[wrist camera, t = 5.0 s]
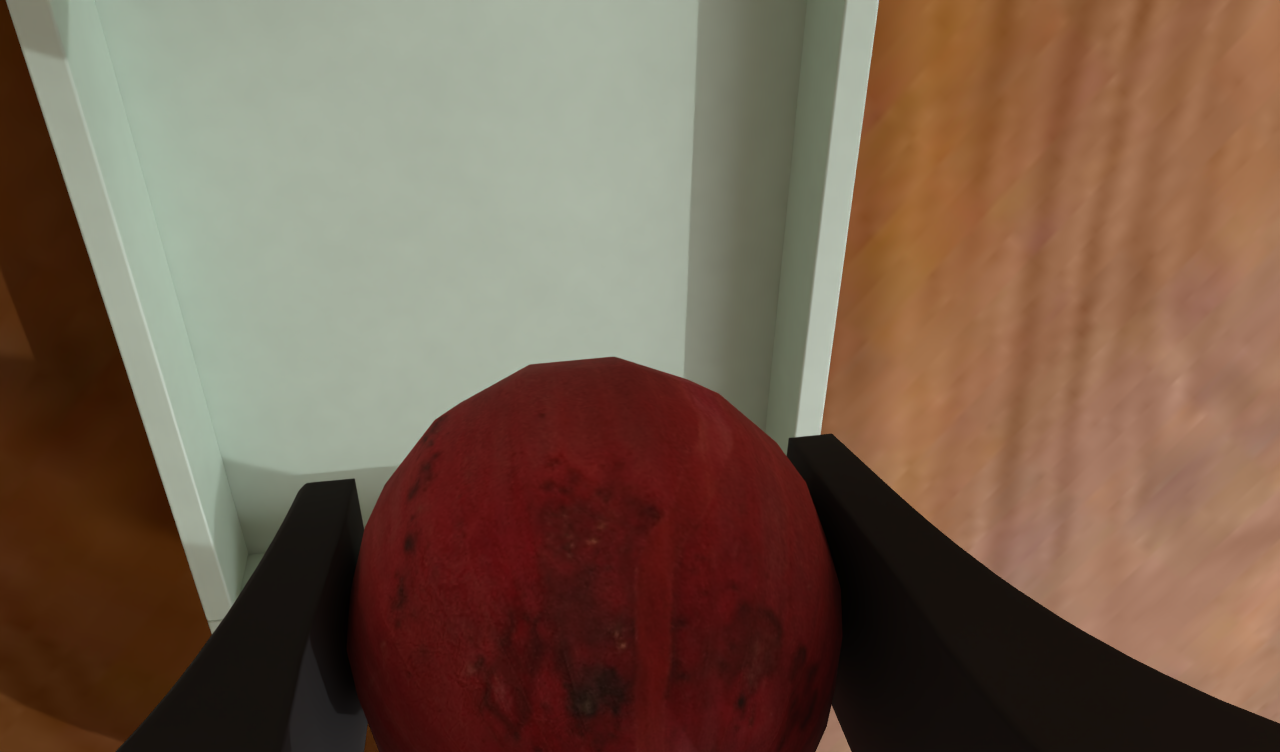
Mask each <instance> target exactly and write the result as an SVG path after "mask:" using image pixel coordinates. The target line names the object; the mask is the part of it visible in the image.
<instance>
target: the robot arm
mask: <svg viewBox="0 0 1280 752" xmlns="http://www.w3.org/2000/svg"><path fill="white" fill-rule="evenodd" d="M787 457H788V459H789V460H790V461H791V463H792V464H793V466H794V467H795V468H796V470H797V471H798V472H799V474H800V475H801V476H802V478H803V479H804V481H805V482H806V484H807V487H808V490H809V492H810V495H811V498H812V500H813V503H814V506H815V509H816V511H817V514H818V517H819V519H820V522H821V525H822V528H823V530H824V533H825V536H826V538H827V542H828V545H829V549H830V552H831V556H832V559H833V563H834V566H835V570H836V573H837V577H838V581H839V584H840V588H841V606H842V643H841V650H840V657H839V664H838V671H837V677H836V684H835V690H834V695H833V699H832V706H833V709H834V711H835V713H836V716H837V718H838V721H839V723H840V725H841V728H842V730H843V732H844V735H845V737H846V739H847V742H848V744H849V747H850V749H851V751H852V752H1280V724H1279V723H1277V722H1274V721H1272V720H1269V719H1267V718H1264V717H1262V716H1259V715H1257V714H1254V713H1252V712H1249V711H1247V710H1244V709H1242V708H1239V707H1237V706H1234V705H1231V704H1229V703H1226V702H1224V701H1222V700H1219V699H1217V698H1215V697H1212V696H1210V695H1208V694H1206V693H1204V692H1202V691H1199V690H1197V689H1195V688H1193V687H1191V686H1189V685H1186V684H1184V683H1182V682H1180V681H1178V680H1176V679H1173V678H1171V677H1169V676H1167V675H1165V674H1163V673H1161V672H1159V671H1157V670H1155V669H1153V668H1151V667H1149V666H1147V665H1145V664H1143V663H1141V662H1139V661H1137V660H1135V659H1133V658H1131V657H1129V656H1127V655H1125V654H1124V653H1122V652H1120V651H1118V650H1116V649H1115V648H1113V647H1111V646H1109V645H1107V644H1106V643H1104V642H1102V641H1100V640H1098V639H1097V638H1095V637H1093V636H1091V635H1089V634H1088V633H1086V632H1084V631H1082V630H1081V629H1079V628H1077V627H1076V626H1074V625H1072V624H1071V623H1069V622H1067V621H1066V620H1064V619H1062V618H1061V617H1059V616H1057V615H1056V614H1054V613H1053V612H1051V611H1050V610H1048V609H1047V608H1045V607H1043V606H1042V605H1040V604H1039V603H1037V602H1036V601H1034V600H1033V599H1031V598H1030V597H1028V596H1027V595H1025V594H1024V593H1022V592H1021V591H1019V590H1017V589H1016V588H1014V587H1013V586H1012V585H1010V584H1009V583H1007V582H1006V581H1005V580H1003V579H1002V578H1000V577H999V576H997V575H996V574H995V573H993V572H992V571H991V570H989V569H988V568H987V567H985V566H984V565H983V564H982V563H980V562H979V561H978V560H976V559H975V558H974V557H972V556H971V555H970V554H968V553H967V552H966V551H964V550H963V549H962V548H961V547H959V546H958V545H957V544H955V543H954V542H953V541H952V540H951V539H949V538H948V537H947V536H946V535H944V534H943V533H942V532H941V531H939V530H938V529H937V528H936V527H935V526H934V525H932V524H931V523H930V522H929V521H928V520H926V519H925V518H924V517H923V516H922V515H921V514H919V513H918V512H917V511H916V510H915V509H914V508H912V507H911V506H910V505H909V504H908V503H907V502H906V501H905V500H904V499H902V498H901V497H900V496H899V495H898V494H897V493H896V492H895V491H894V490H892V489H891V488H890V487H889V486H888V485H887V484H886V483H885V482H884V481H883V480H881V479H880V478H879V477H878V476H877V475H876V474H875V473H874V472H873V471H872V470H871V469H870V468H868V467H867V466H866V465H865V464H864V463H863V462H862V461H861V460H860V459H859V458H858V457H857V456H856V455H854V454H853V453H852V452H851V451H850V450H849V449H848V448H847V447H846V446H845V445H844V444H843V443H841V442H840V441H839V440H838V439H837V438H836V437H835V436H834V435H833V434H824V435H813V436H803V437H792V438H789V440H788V448H787ZM363 533H364V525H363V520H362V514H361V509H360V504H359V498H358V493H357V488H356V482H355V478H353V479H343V480H332V481H321V482H310V483H306V484H305V485H304V486H303V487H302V488H301V489H300V490H299V491H298V493H297V495H296V497H295V499H294V501H293V503H292V505H291V507H290V509H289V511H288V513H287V515H286V517H285V519H284V520H283V522H282V524H281V526H280V528H279V530H278V531H277V533H276V535H275V537H274V539H273V540H272V542H271V544H270V546H269V547H268V549H267V551H266V552H265V554H264V556H263V558H262V559H261V561H260V563H259V564H258V566H257V567H256V569H255V571H254V572H253V574H252V575H251V577H250V579H249V580H248V582H247V583H246V585H245V587H244V588H243V590H242V591H241V593H240V594H239V596H238V598H237V599H236V601H235V602H234V604H233V605H232V607H231V608H230V610H229V611H228V613H227V614H226V616H225V617H224V618H223V620H222V621H221V623H220V624H219V625H218V627H217V628H216V630H215V631H214V632H213V634H212V635H211V637H210V638H209V639H208V641H207V642H206V644H205V645H204V646H203V648H202V649H201V651H200V652H199V653H198V655H197V656H196V658H195V659H194V660H193V662H192V663H191V664H190V666H189V667H188V668H187V669H186V671H185V672H184V673H183V675H182V676H181V677H180V678H179V680H178V681H177V682H176V683H175V685H174V686H173V687H172V688H171V690H170V691H169V692H168V693H167V695H166V696H165V697H164V698H163V699H162V700H161V702H160V703H159V704H158V705H157V706H156V707H155V709H154V710H153V711H152V712H151V713H150V715H149V716H148V717H147V718H146V719H145V720H144V722H143V723H142V724H141V725H140V726H139V727H138V728H137V729H136V730H135V732H134V733H133V734H132V735H131V736H130V737H129V738H128V739H127V740H126V741H125V742H124V743H123V744H122V745H121V747H120V748H119V749H118V750H117V751H116V752H364V748H365V740H366V732H367V725H368V722H367V719H366V716H365V714H364V711H363V709H362V706H361V704H360V701H359V699H358V695H357V691H356V687H355V683H354V679H353V675H352V671H351V666H350V662H349V658H348V654H347V626H348V614H349V603H350V592H351V587H352V582H353V578H354V573H355V569H356V564H357V560H358V556H359V551H360V547H361V542H362V538H363Z"/></svg>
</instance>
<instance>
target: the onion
mask: <svg viewBox="0 0 1280 752" xmlns="http://www.w3.org/2000/svg"><path fill="white" fill-rule="evenodd" d="M841 643H842V606H841V588H840V584H839V581H838V577H837V573H836V570H835V566H834V563H833V559H832V556H831V552H830V549H829V545H828V542H827V538H826V536H825V533H824V530H823V528H822V525H821V522H820V519H819V517H818V514H817V511H816V509H815V506H814V503H813V500H812V498H811V495H810V492H809V490H808V487H807V484H806V482H805V481H804V479H803V478H802V476H801V475H800V474H799V472H798V471H797V470H796V468H795V467H794V466H793V464H792V463H791V461H790V460H789V459H788V457H787V456H786V455H785V453H784V452H783V451H782V449H781V448H780V447H779V445H778V444H777V442H775V441H774V440H773V439H772V438H771V437H770V436H768V435H767V434H766V433H765V432H764V431H763V430H761V429H760V428H759V427H758V426H757V425H755V424H754V423H753V422H752V421H751V420H750V419H748V418H747V417H746V416H745V415H744V414H743V413H741V412H740V411H739V410H738V409H737V408H736V407H734V406H733V405H732V404H731V403H730V402H729V401H727V400H726V399H725V398H724V397H723V396H721V395H720V394H719V393H717V392H715V391H712V390H710V389H708V388H706V387H703V386H701V385H699V384H697V383H695V382H692V381H690V380H688V379H685V378H682V377H678V376H675V375H672V374H669V373H666V372H663V371H659V370H656V369H653V368H650V367H647V366H643V365H640V364H637V363H634V362H631V361H627V360H624V359H621V358H618V357H615V356H614V357H603V358H592V359H582V360H571V361H560V362H550V363H539V364H529V365H528V366H526V367H524V368H522V369H520V370H519V371H517V372H515V373H513V374H511V375H510V376H508V377H506V378H504V379H502V380H501V381H499V382H497V383H495V384H493V385H491V386H490V387H488V388H486V389H484V390H482V391H481V392H479V393H477V394H475V395H473V396H472V397H470V398H468V399H466V400H464V401H462V402H461V403H459V404H458V405H456V406H455V407H453V408H452V409H450V410H449V411H447V412H446V413H444V414H443V415H441V416H440V417H438V418H437V419H435V420H434V421H433V423H432V424H431V425H430V427H429V428H428V429H427V430H426V432H425V433H424V434H423V436H422V437H421V438H420V440H419V441H418V442H417V443H416V445H415V446H414V447H413V449H412V450H411V451H410V452H409V454H408V455H407V456H406V458H405V459H404V460H403V462H402V463H401V464H400V465H399V467H398V468H397V469H396V471H395V472H394V473H393V474H392V476H391V477H390V478H389V480H388V481H387V482H386V484H385V485H384V487H383V489H382V492H381V494H380V496H379V498H378V500H377V502H376V504H375V507H374V509H373V511H372V513H371V515H370V517H369V519H368V522H367V524H366V526H365V529H364V533H363V538H362V542H361V547H360V551H359V556H358V560H357V564H356V569H355V573H354V578H353V582H352V587H351V592H350V603H349V614H348V626H347V654H348V658H349V662H350V666H351V671H352V675H353V679H354V683H355V687H356V691H357V695H358V699H359V701H360V704H361V706H362V709H363V711H364V714H365V716H366V719H367V722H368V724H369V727H370V729H371V732H372V734H373V737H374V739H375V742H376V744H377V747H378V750H379V752H815V751H816V749H817V747H818V745H819V742H820V740H821V738H822V736H823V733H824V731H825V729H826V727H827V722H828V718H829V713H830V708H831V704H832V699H833V695H834V690H835V684H836V677H837V671H838V664H839V657H840V650H841Z"/></svg>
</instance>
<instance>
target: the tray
mask: <svg viewBox="0 0 1280 752" xmlns="http://www.w3.org/2000/svg"><path fill="white" fill-rule="evenodd" d="M6 3H7V6H8V9H9V12H10V15H11V18H12V21H13V24H14V27H15V30H16V33H17V36H18V40H19V43H20V46H21V49H22V52H23V55H24V58H25V61H26V64H27V67H28V70H29V73H30V77H31V80H32V83H33V86H34V89H35V92H36V95H37V98H38V101H39V104H40V107H41V110H42V113H43V117H44V120H45V123H46V126H47V129H48V132H49V135H50V138H51V141H52V144H53V147H54V150H55V154H56V157H57V160H58V163H59V166H60V169H61V172H62V175H63V178H64V181H65V184H66V187H67V191H68V194H69V197H70V200H71V203H72V206H73V209H74V212H75V215H76V218H77V221H78V224H79V227H80V231H81V234H82V237H83V240H84V243H85V246H86V249H87V252H88V255H89V258H90V261H91V264H92V268H93V271H94V274H95V277H96V280H97V283H98V286H99V289H100V292H101V295H102V298H103V301H104V304H105V308H106V311H107V314H108V317H109V320H110V323H111V326H112V329H113V332H114V335H115V338H116V341H117V345H118V348H119V351H120V354H121V357H122V360H123V363H124V366H125V369H126V372H127V375H128V378H129V381H130V385H131V388H132V391H133V394H134V397H135V400H136V403H137V406H138V409H139V412H140V415H141V418H142V422H143V425H144V428H145V431H146V434H147V437H148V440H149V443H150V446H151V449H152V452H153V455H154V458H155V462H156V465H157V468H158V471H159V474H160V477H161V480H162V483H163V486H164V489H165V492H166V495H167V499H168V502H169V505H170V508H171V511H172V514H173V517H174V520H175V523H176V526H177V529H178V532H179V535H180V539H181V542H182V545H183V548H184V551H185V554H186V557H187V560H188V563H189V566H190V569H191V572H192V576H193V579H194V582H195V585H196V588H197V591H198V594H199V597H200V600H201V603H202V606H203V609H204V612H205V616H206V619H207V620H208V624H209V627H210V630H211V633H212V634H213V632H214V631H215V630H216V628H217V627H218V625H219V624H220V623H221V621H222V620H223V618H224V617H225V616H226V614H227V613H228V611H229V610H230V608H231V607H232V605H233V604H234V602H235V601H236V599H237V598H238V596H239V594H240V593H241V591H242V590H243V588H244V587H245V585H246V583H247V582H248V580H249V579H250V577H251V575H252V574H253V572H254V571H255V569H256V567H257V566H258V564H259V563H260V561H261V559H262V558H263V556H264V554H265V552H266V551H267V549H268V547H269V546H270V544H271V542H272V540H273V539H274V537H275V535H276V533H277V531H278V530H279V528H280V526H281V524H282V522H283V520H284V519H285V517H286V515H287V513H288V511H289V509H290V507H291V505H292V503H293V501H294V499H295V497H296V495H297V493H298V491H299V490H300V489H301V488H302V487H303V486H304V485H305V484H306V483H310V482H321V481H332V480H343V479H353V478H355V482H356V488H357V493H358V498H359V504H360V509H361V514H362V520H363V525H364V529H365V526H366V524H367V522H368V519H369V517H370V515H371V513H372V511H373V509H374V507H375V504H376V502H377V500H378V498H379V496H380V494H381V492H382V489H383V487H384V485H385V484H386V482H387V481H388V480H389V478H390V477H391V476H392V474H393V473H394V472H395V471H396V469H397V468H398V467H399V465H400V464H401V463H402V462H403V460H404V459H405V458H406V456H407V455H408V454H409V452H410V451H411V450H412V449H413V447H414V446H415V445H416V443H417V442H418V441H419V440H420V438H421V437H422V436H423V434H424V433H425V432H426V430H427V429H428V428H429V427H430V425H431V424H432V423H433V421H434V420H435V419H437V418H438V417H440V416H441V415H443V414H444V413H446V412H447V411H449V410H450V409H452V408H453V407H455V406H456V405H458V404H459V403H461V402H462V401H464V400H466V399H468V398H470V397H472V396H473V395H475V394H477V393H479V392H481V391H482V390H484V389H486V388H488V387H490V386H491V385H493V384H495V383H497V382H499V381H501V380H502V379H504V378H506V377H508V376H510V375H511V374H513V373H515V372H517V371H519V370H520V369H522V368H524V367H526V366H528V365H529V364H539V363H550V362H560V361H571V360H582V359H592V358H603V357H614V356H615V357H618V358H621V359H624V360H627V361H631V362H634V363H637V364H640V365H643V366H647V367H650V368H653V369H656V370H659V371H663V372H666V373H669V374H672V375H675V376H678V377H682V378H685V379H688V380H690V381H692V382H695V383H697V384H699V385H701V386H703V387H706V388H708V389H710V390H712V391H715V392H717V393H719V394H720V395H721V396H723V397H724V398H725V399H726V400H727V401H729V402H730V403H731V404H732V405H733V406H734V407H736V408H737V409H738V410H739V411H740V412H741V413H743V414H744V415H745V416H746V417H747V418H748V419H750V420H751V421H752V422H753V423H754V424H755V425H757V426H758V427H759V428H760V429H761V430H763V431H764V432H765V433H766V434H767V435H768V436H770V437H771V438H772V439H773V440H774V441H775V442H777V444H778V445H779V447H780V448H781V449H782V451H783V452H784V453H785V455H786V456H787V448H788V440H789V438H792V437H803V436H813V435H820V434H821V426H822V419H823V411H824V404H825V396H826V389H827V382H828V374H829V367H830V359H831V352H832V345H833V337H834V330H835V322H836V315H837V308H838V300H839V293H840V285H841V278H842V271H843V263H844V256H845V248H846V241H847V233H848V226H849V219H850V211H851V204H852V196H853V189H854V182H855V174H856V167H857V159H858V152H859V145H860V137H861V130H862V122H863V115H864V108H865V100H866V93H867V85H868V78H869V70H870V63H871V56H872V48H873V41H874V33H875V26H876V19H877V11H878V4H879V0H6Z"/></svg>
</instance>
